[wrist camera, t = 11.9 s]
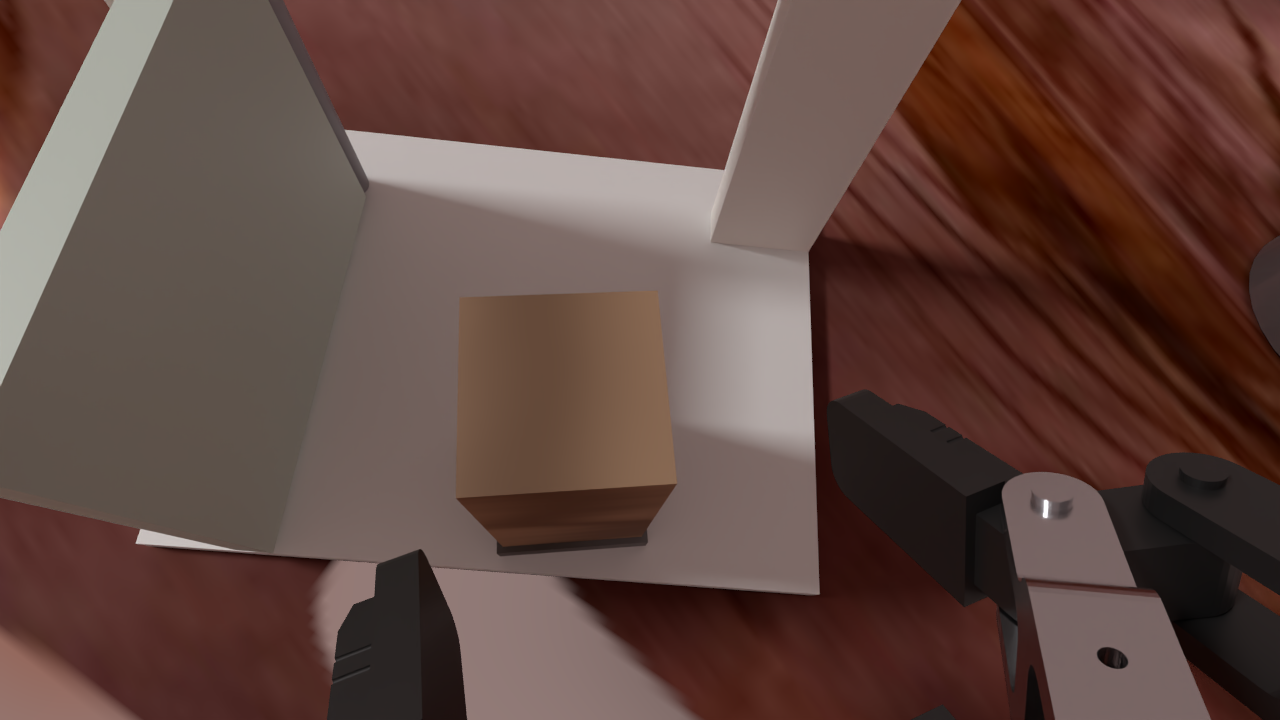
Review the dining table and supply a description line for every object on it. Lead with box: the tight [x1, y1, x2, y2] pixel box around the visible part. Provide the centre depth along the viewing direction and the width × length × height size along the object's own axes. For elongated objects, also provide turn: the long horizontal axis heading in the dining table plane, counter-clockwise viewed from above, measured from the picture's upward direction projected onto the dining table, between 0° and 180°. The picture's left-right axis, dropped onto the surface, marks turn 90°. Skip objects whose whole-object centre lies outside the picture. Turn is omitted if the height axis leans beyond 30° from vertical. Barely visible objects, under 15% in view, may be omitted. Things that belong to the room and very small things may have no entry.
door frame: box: [104, 0, 961, 595], centre depth 20 cm, size 23×18×16 cm
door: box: [0, 0, 369, 553], centre depth 19 cm, size 15×2×12 cm, turn 176°
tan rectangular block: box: [456, 291, 677, 556], centre depth 19 cm, size 5×5×10 cm
